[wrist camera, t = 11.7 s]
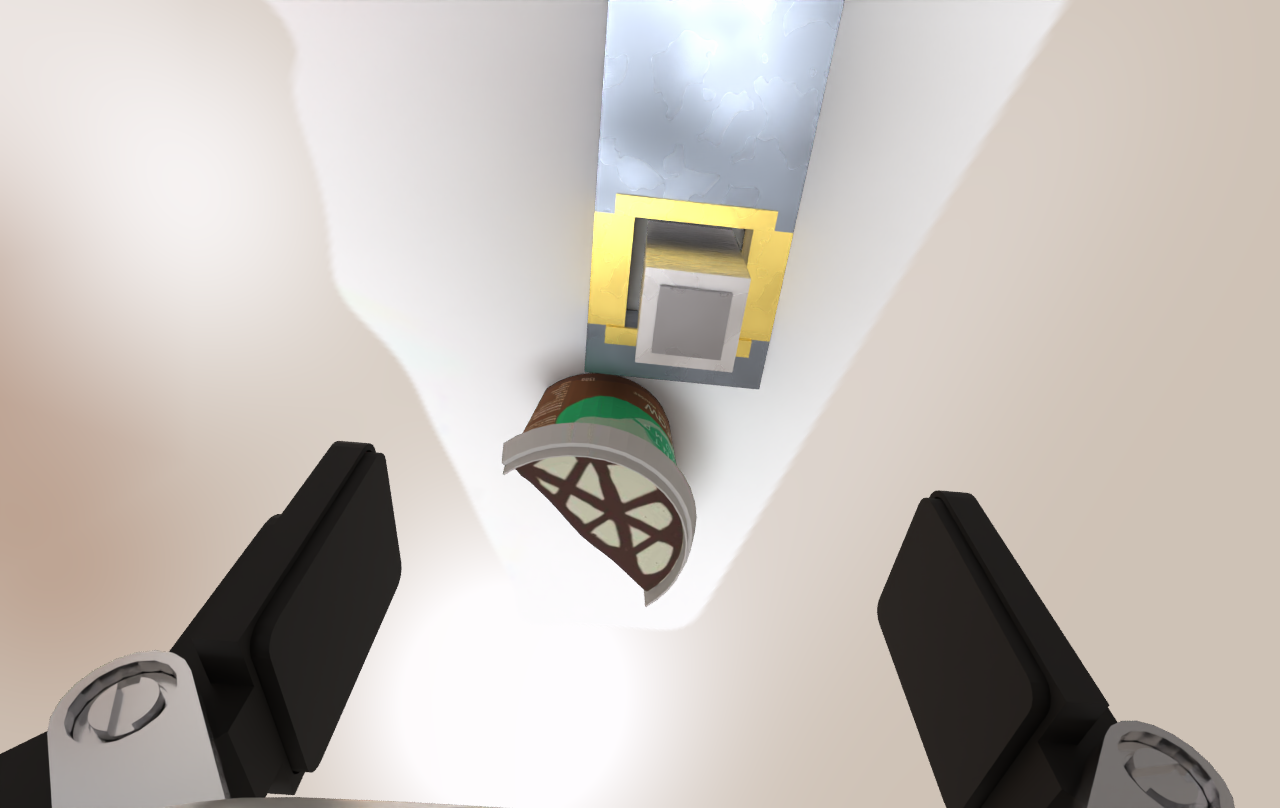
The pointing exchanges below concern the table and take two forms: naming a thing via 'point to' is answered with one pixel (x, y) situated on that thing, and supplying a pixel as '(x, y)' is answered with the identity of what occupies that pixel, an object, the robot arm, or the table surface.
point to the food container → (611, 474)
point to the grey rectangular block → (691, 297)
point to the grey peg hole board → (704, 152)
